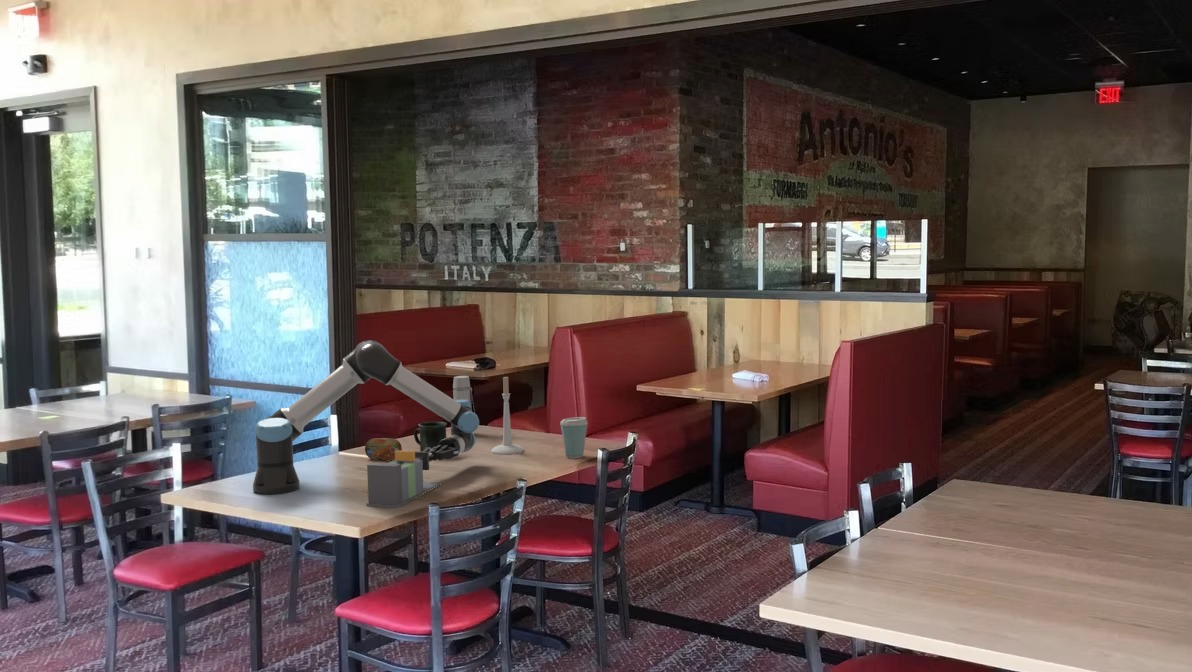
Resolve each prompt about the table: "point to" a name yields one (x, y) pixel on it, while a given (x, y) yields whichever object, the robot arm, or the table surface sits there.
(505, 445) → the candlestick
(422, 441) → the mug
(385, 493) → the grey stepped block
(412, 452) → the orange rectangular plank
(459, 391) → the water bottle
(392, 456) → the tin
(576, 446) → the disposable coffee cup
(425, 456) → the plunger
